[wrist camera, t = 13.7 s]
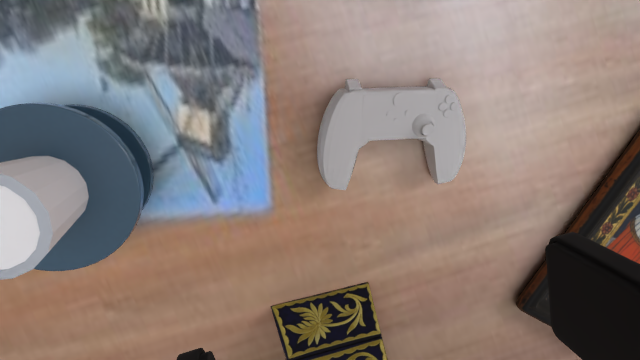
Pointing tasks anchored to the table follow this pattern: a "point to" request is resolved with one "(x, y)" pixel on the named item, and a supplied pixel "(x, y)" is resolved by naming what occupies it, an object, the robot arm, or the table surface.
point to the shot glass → (36, 209)
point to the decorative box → (331, 326)
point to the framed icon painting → (599, 225)
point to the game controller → (391, 127)
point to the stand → (84, 173)
